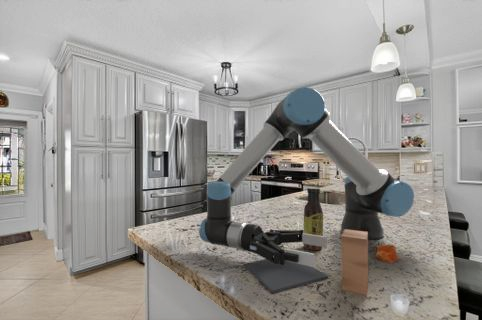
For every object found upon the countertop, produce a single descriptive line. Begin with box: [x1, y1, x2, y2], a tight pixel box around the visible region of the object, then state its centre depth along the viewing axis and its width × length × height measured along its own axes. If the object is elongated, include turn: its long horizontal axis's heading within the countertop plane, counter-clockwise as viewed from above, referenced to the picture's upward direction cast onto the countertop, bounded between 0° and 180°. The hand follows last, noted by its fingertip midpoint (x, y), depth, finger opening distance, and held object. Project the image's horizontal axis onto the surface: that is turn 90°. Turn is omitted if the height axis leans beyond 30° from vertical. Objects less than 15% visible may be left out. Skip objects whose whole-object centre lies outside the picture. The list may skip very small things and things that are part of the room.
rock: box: [375, 244, 399, 263], centre depth 70 cm, size 12×12×4 cm
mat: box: [242, 258, 329, 294], centre depth 61 cm, size 16×15×1 cm
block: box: [340, 229, 369, 296], centre depth 54 cm, size 6×5×12 cm
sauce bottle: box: [303, 187, 324, 251], centre depth 78 cm, size 7×6×20 cm
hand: (321, 250), depth 58 cm, fingers open, 13 cm apart
